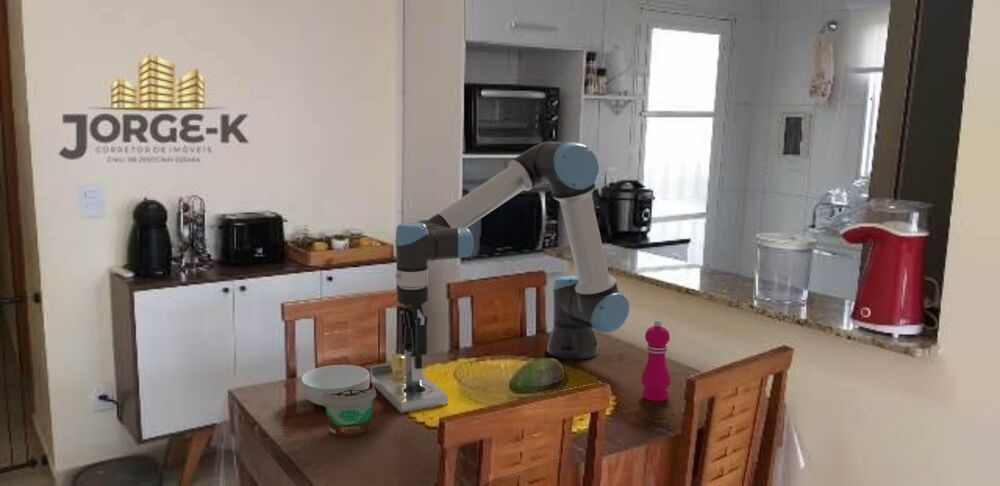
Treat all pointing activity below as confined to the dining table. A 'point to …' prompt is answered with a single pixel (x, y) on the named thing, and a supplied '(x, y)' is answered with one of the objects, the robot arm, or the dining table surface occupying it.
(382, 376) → the plate
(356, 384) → the cereal bowl
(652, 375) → the pepper mill
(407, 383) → the steel bushing
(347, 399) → the food container
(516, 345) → the dining table surface
